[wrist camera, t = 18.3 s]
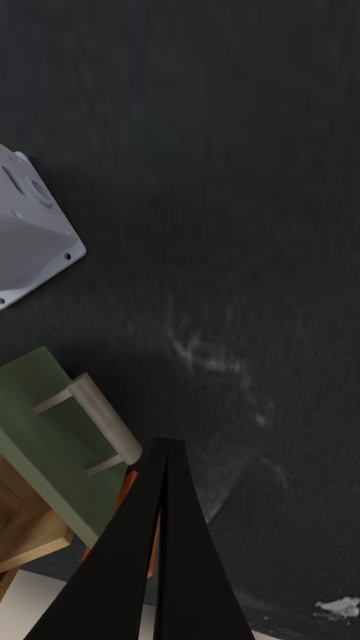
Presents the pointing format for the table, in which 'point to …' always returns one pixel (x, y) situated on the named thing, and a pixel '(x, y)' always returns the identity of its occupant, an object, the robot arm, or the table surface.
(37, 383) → the drawer
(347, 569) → the table surface
